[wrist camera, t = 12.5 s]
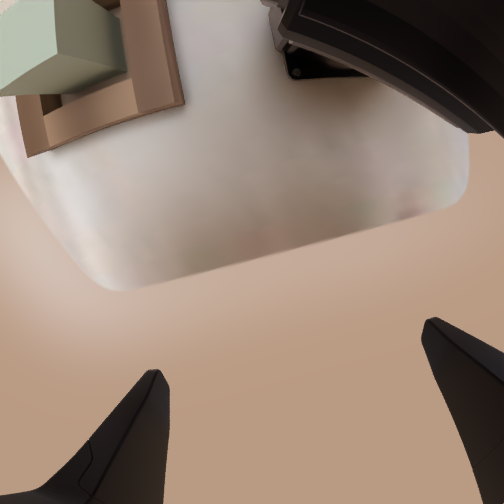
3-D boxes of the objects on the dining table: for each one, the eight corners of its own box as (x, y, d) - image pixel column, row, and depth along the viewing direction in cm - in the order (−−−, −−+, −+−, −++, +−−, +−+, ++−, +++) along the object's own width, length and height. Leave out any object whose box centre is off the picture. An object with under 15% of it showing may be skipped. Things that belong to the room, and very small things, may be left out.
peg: (119, 18, 12) (53, -23, 5) (127, 71, 14) (57, 53, 7) (66, 42, 13) (-13, 25, 5) (73, 94, 14) (-10, 97, 7)
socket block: (161, -28, 12) (150, -46, 9) (184, 103, 16) (175, 102, 13) (34, 29, 12) (10, 24, 9) (52, 149, 16) (27, 157, 14)
